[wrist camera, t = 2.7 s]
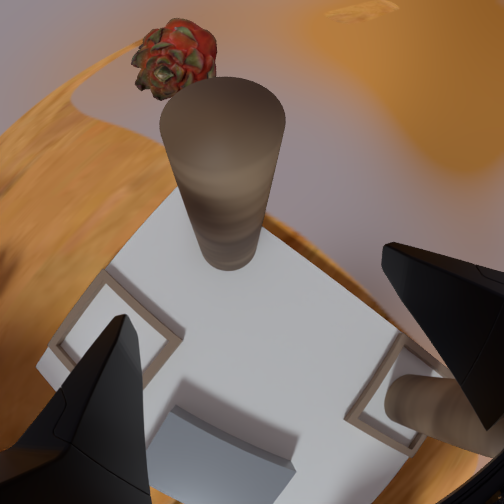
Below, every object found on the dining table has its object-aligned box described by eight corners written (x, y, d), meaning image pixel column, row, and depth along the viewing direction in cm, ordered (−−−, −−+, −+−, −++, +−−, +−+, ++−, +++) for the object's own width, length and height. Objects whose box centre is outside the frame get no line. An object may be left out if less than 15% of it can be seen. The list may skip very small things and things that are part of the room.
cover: (290, 460, 17) (296, 471, 15) (249, 516, 15) (250, 529, 13) (175, 404, 18) (169, 411, 16) (139, 464, 16) (131, 474, 14)
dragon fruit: (184, 137, 27) (170, 79, 32) (253, 81, 23) (222, 35, 28) (114, 97, 20) (119, 45, 25) (188, 23, 16) (173, -7, 21)
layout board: (448, 376, 20) (461, 377, 18) (311, 549, 15) (316, 561, 13) (190, 181, 24) (188, 169, 22) (43, 366, 18) (30, 367, 17)
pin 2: (433, 387, 19) (563, 398, 6) (407, 430, 18) (530, 472, 5) (402, 365, 19) (542, 367, 7) (374, 409, 18) (505, 456, 6)
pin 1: (268, 238, 21) (308, 111, 9) (233, 282, 20) (231, 192, 8) (224, 207, 22) (216, 64, 9) (188, 248, 21) (134, 127, 8)
